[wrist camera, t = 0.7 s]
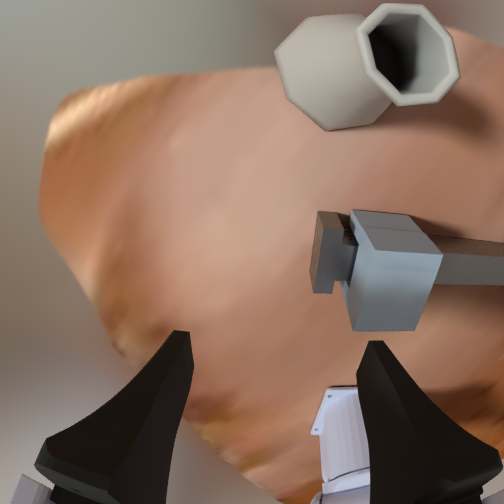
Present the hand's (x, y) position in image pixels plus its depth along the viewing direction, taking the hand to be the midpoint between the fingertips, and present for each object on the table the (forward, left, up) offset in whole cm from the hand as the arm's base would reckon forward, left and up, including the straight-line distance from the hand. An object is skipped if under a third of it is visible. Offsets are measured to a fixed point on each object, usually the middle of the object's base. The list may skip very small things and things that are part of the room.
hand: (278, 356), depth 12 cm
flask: (+11, -3, -10) cm, 15 cm away
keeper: (0, -7, -10) cm, 12 cm away
